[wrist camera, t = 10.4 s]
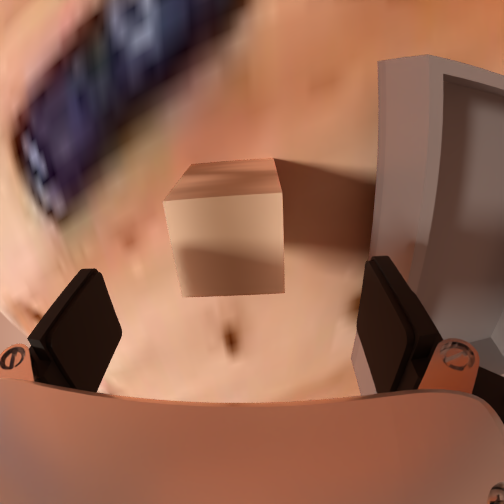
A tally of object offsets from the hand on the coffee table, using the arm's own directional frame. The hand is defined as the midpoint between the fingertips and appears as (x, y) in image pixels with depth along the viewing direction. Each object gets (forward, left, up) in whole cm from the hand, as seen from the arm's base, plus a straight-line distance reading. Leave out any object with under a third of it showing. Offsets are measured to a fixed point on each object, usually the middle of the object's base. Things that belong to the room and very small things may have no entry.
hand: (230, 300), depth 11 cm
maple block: (0, +1, -9) cm, 9 cm away
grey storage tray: (+14, -1, -9) cm, 16 cm away
